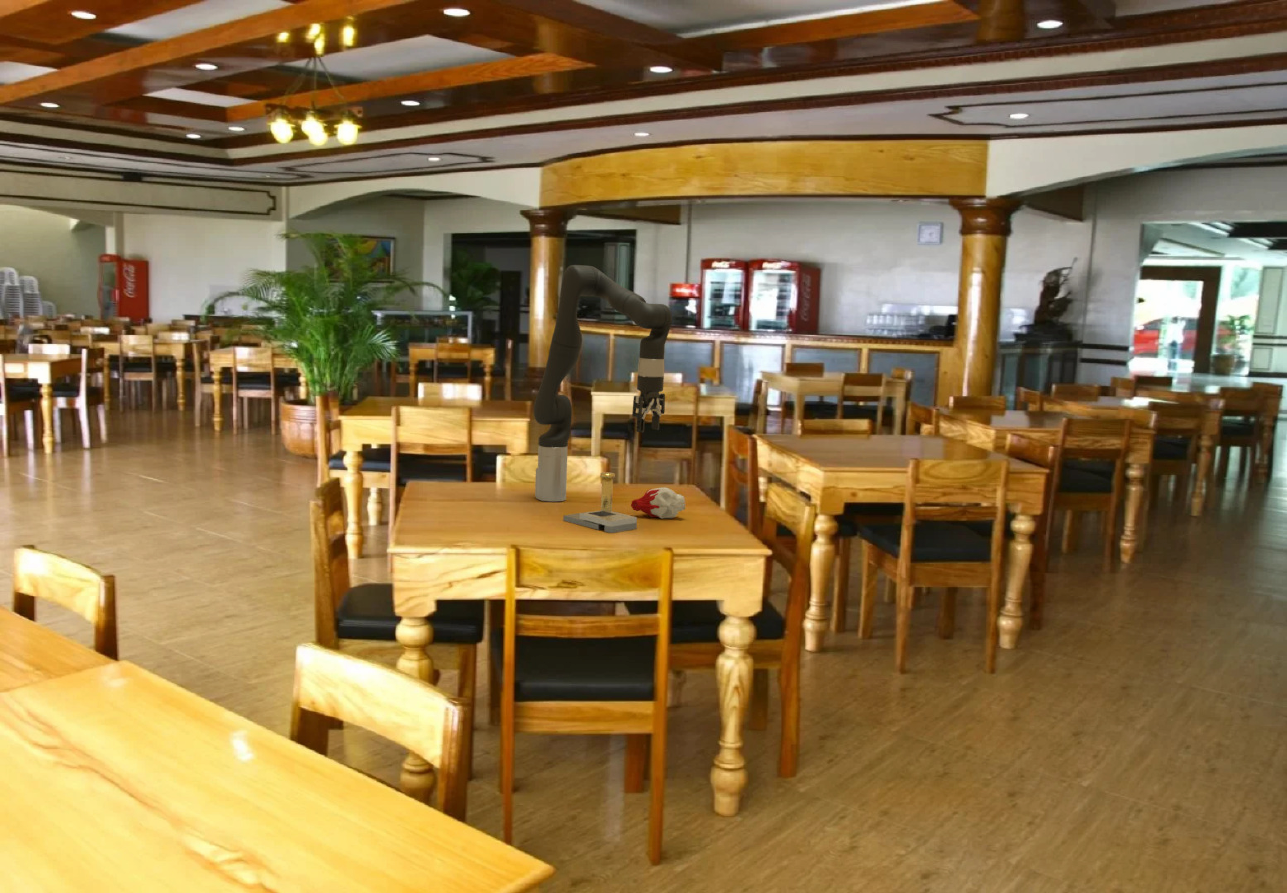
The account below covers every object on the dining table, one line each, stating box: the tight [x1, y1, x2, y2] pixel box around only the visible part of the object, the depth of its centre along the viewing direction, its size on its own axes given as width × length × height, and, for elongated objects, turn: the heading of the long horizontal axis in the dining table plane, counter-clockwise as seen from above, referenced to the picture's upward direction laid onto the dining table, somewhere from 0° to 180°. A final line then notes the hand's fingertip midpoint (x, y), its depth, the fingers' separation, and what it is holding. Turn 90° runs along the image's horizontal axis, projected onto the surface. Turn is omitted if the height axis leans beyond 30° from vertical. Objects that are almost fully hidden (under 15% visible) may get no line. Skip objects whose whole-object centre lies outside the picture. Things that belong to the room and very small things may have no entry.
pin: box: [599, 471, 616, 511], centre depth 317 cm, size 4×4×13 cm
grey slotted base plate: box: [563, 509, 638, 534], centre depth 307 cm, size 20×10×3 cm, turn 45°
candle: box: [630, 487, 687, 519], centre depth 321 cm, size 9×11×15 cm
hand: (647, 430), depth 309 cm, fingers open, 8 cm apart
